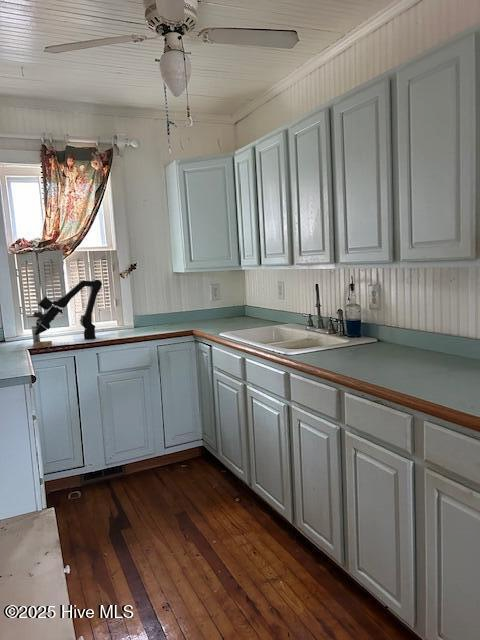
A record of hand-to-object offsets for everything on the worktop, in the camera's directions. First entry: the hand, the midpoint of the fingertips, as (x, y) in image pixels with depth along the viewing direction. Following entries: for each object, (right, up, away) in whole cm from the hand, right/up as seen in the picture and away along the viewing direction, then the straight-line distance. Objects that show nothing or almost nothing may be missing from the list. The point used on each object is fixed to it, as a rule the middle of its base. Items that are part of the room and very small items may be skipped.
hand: (33, 334), depth 299 cm
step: (+8, -8, -5) cm, 12 cm away
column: (+1, -7, +2) cm, 7 cm away
